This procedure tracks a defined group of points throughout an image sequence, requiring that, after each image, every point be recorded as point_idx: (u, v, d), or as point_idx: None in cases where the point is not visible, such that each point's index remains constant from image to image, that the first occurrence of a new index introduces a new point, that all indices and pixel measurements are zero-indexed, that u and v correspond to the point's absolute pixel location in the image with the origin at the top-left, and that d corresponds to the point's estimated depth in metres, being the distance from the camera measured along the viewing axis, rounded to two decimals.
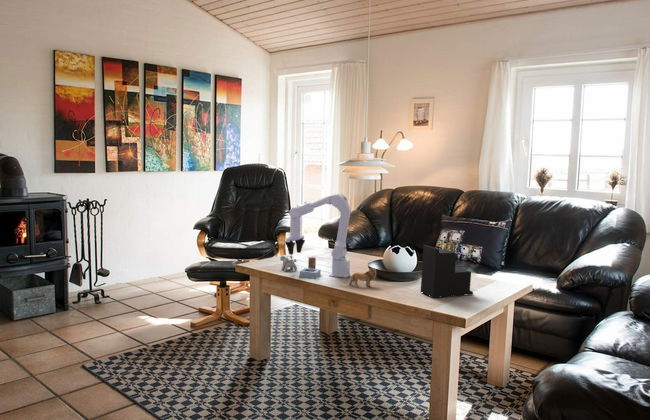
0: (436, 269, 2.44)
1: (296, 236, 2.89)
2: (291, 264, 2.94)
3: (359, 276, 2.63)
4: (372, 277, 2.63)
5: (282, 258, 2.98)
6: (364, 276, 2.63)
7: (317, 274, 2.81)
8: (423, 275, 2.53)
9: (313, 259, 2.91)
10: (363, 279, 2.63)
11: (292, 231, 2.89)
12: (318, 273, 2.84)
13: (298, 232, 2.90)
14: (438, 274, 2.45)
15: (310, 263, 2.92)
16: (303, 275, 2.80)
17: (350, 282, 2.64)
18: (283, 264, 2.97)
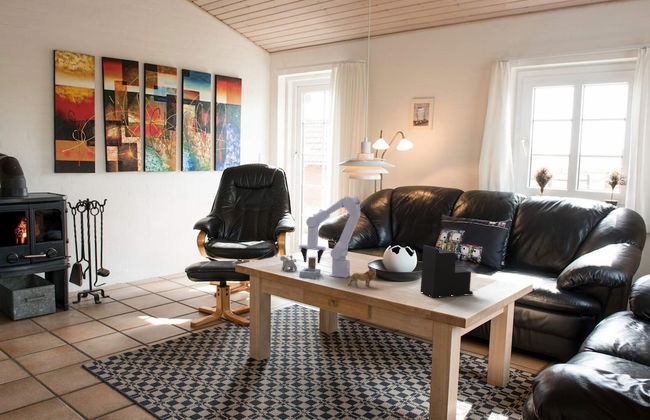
0: (436, 269, 2.45)
1: (308, 245, 2.91)
2: (291, 264, 2.94)
3: (359, 276, 2.63)
4: (372, 277, 2.63)
5: (282, 258, 2.98)
6: (364, 276, 2.63)
7: (317, 274, 2.81)
8: (423, 275, 2.53)
9: (313, 259, 2.91)
10: (363, 279, 2.63)
11: None
12: (318, 273, 2.84)
13: (309, 241, 2.90)
14: (438, 274, 2.45)
15: (310, 263, 2.92)
16: (303, 275, 2.80)
17: (350, 282, 2.64)
18: (283, 264, 2.97)
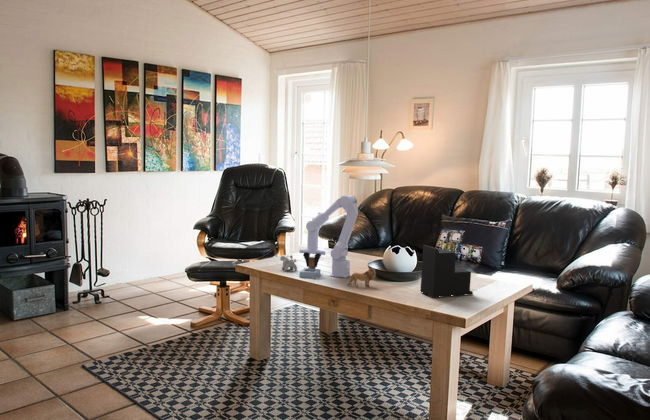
0: (435, 269, 2.45)
1: (308, 249, 2.91)
2: (291, 264, 2.94)
3: (358, 276, 2.63)
4: (371, 277, 2.63)
5: (282, 258, 2.98)
6: (363, 276, 2.63)
7: (317, 274, 2.81)
8: (423, 275, 2.53)
9: (313, 259, 2.91)
10: (362, 279, 2.63)
11: None
12: (318, 273, 2.84)
13: (309, 245, 2.90)
14: (438, 274, 2.46)
15: (310, 263, 2.92)
16: (303, 275, 2.80)
17: (349, 282, 2.64)
18: (283, 264, 2.97)
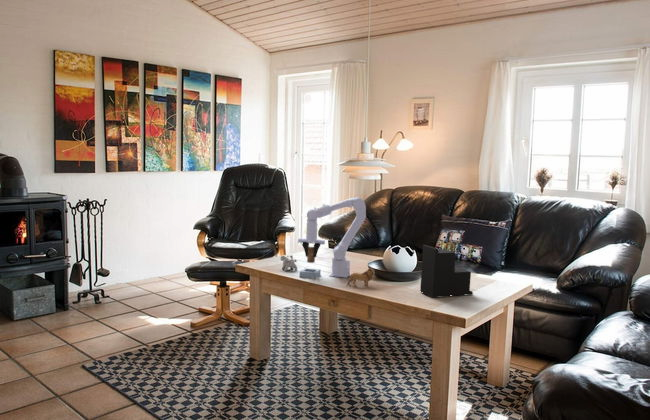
0: (435, 269, 2.45)
1: (307, 238, 2.83)
2: (291, 264, 2.94)
3: (357, 276, 2.63)
4: (370, 277, 2.63)
5: (282, 258, 2.98)
6: (362, 276, 2.63)
7: (317, 274, 2.81)
8: (423, 275, 2.53)
9: (312, 249, 2.84)
10: (361, 279, 2.63)
11: None
12: (318, 273, 2.84)
13: (308, 235, 2.82)
14: (438, 274, 2.46)
15: (309, 253, 2.84)
16: (303, 275, 2.80)
17: (348, 282, 2.63)
18: (283, 264, 2.97)
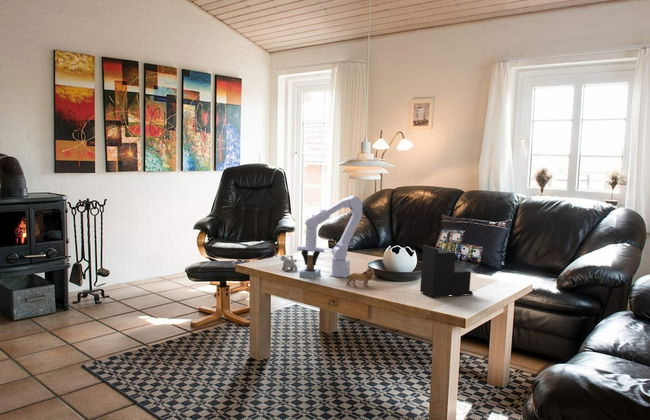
0: (435, 269, 2.45)
1: (306, 246, 2.81)
2: (291, 264, 2.94)
3: (357, 276, 2.63)
4: (370, 277, 2.63)
5: (282, 258, 2.98)
6: (362, 276, 2.63)
7: (317, 274, 2.81)
8: (422, 275, 2.53)
9: (312, 257, 2.81)
10: (361, 279, 2.63)
11: None
12: (318, 273, 2.84)
13: (308, 243, 2.80)
14: (438, 274, 2.46)
15: (308, 261, 2.81)
16: (303, 275, 2.80)
17: (348, 282, 2.63)
18: (283, 264, 2.97)
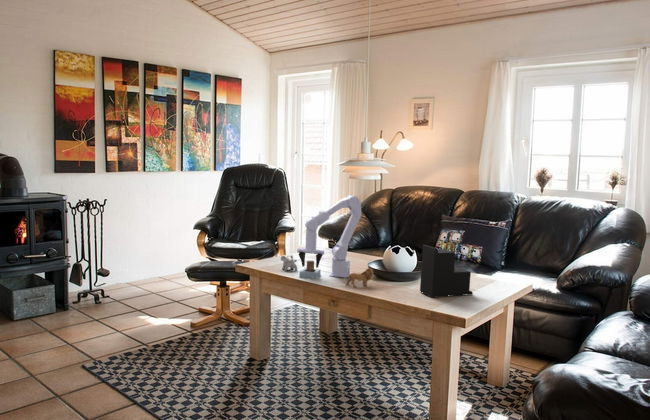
0: (434, 269, 2.45)
1: (306, 248, 2.81)
2: (291, 264, 2.94)
3: (356, 276, 2.63)
4: (369, 277, 2.63)
5: (282, 258, 2.98)
6: (361, 276, 2.63)
7: (317, 274, 2.81)
8: (422, 275, 2.53)
9: (311, 263, 2.81)
10: (360, 279, 2.63)
11: None
12: (318, 273, 2.84)
13: (308, 245, 2.80)
14: (437, 274, 2.46)
15: (308, 267, 2.82)
16: (303, 275, 2.80)
17: (347, 282, 2.63)
18: (283, 264, 2.97)
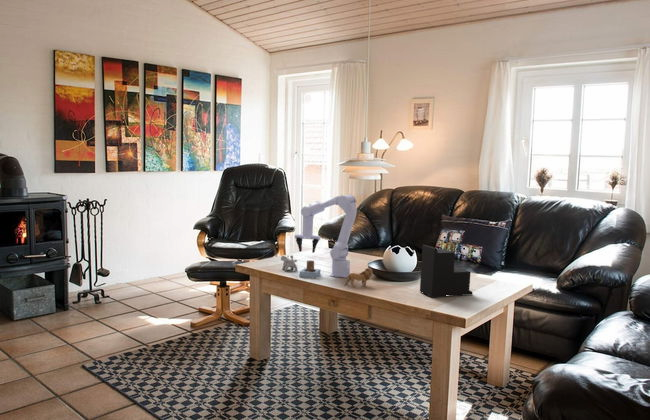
0: (434, 269, 2.45)
1: (303, 234, 2.94)
2: (291, 264, 2.94)
3: (355, 276, 2.63)
4: (368, 277, 2.63)
5: (283, 258, 2.98)
6: (360, 276, 2.63)
7: (317, 274, 2.81)
8: (422, 275, 2.54)
9: (311, 263, 2.81)
10: (359, 279, 2.63)
11: None
12: (318, 273, 2.84)
13: (304, 231, 2.93)
14: (437, 274, 2.46)
15: (308, 267, 2.82)
16: (303, 275, 2.80)
17: (346, 282, 2.63)
18: (284, 264, 2.97)
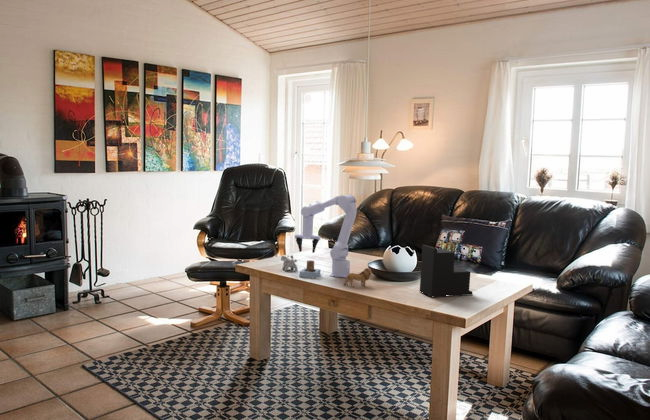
0: (434, 268, 2.45)
1: (303, 234, 2.94)
2: (291, 264, 2.94)
3: (354, 276, 2.63)
4: (368, 277, 2.63)
5: (283, 258, 2.98)
6: (359, 276, 2.63)
7: (317, 274, 2.81)
8: (422, 275, 2.54)
9: (312, 263, 2.81)
10: (358, 279, 2.63)
11: None
12: (318, 273, 2.84)
13: (304, 231, 2.93)
14: (437, 274, 2.46)
15: (308, 267, 2.82)
16: (303, 275, 2.80)
17: (345, 282, 2.63)
18: (284, 264, 2.97)
